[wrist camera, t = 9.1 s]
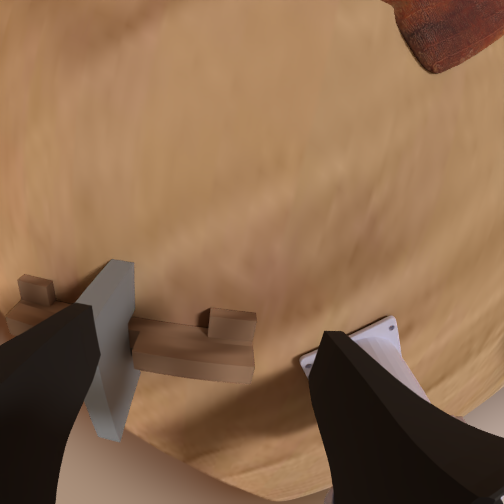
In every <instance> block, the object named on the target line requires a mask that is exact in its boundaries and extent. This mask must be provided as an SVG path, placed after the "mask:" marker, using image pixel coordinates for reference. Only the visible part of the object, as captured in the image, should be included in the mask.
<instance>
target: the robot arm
mask: <svg viewBox="0 0 504 504" xmlns="http://www.w3.org/2000/svg"><path fill="white" fill-rule="evenodd" d="M390 326H391V327H390ZM389 327H390V328H389ZM100 356H101V353H100V348H99V343H98V338H97V333H96V327H95V322H94V316H93V309H92V305H86V304H81V303H73V304H71V305H69V306H67V307H66V308H64V309H62V310H60V311H59V312H57V313H55V314H53V315H52V316H50V317H48V318H47V319H45V320H43V321H42V322H40V323H38V324H37V325H35V326H33V327H32V328H30V329H29V330H27V331H25V332H23V333H22V334H20V335H18V336H16V337H15V338H13V339H11V340H9V341H7V342H6V343H4V344H2V345H1V346H0V504H55V502H56V491H57V484H58V478H59V473H60V467H61V463H62V458H63V454H64V450H65V446H66V443H67V439H68V437H69V434H70V431H71V429H72V427H73V424H74V422H75V420H76V417H77V415H78V413H79V411H80V408H81V406H82V404H83V402H84V399H85V397H86V395H87V393H88V390H89V388H90V386H91V384H92V382H93V379H94V376H95V373H96V370H97V366H98V363H99V360H100ZM299 361H300V365H301V367H302V368H303V370H304V372H305V374H306V376H307V378H308V380H309V388H310V395H311V401H312V406H313V410H314V413H315V417H316V420H317V424H318V427H319V430H320V434H321V437H322V441H323V444H324V448H325V451H326V454H327V458H328V462H329V466H330V471H331V477H332V484H333V486H332V487H331V488H330V489H329V490H328V492H327V494H326V497H325V501H324V504H503V502H502V498H503V496H504V438H502V437H499V436H496V435H493V434H490V433H488V432H485V431H482V430H480V429H477V428H475V427H473V426H470V425H468V424H467V423H466V421H465V420H464V418H463V417H462V416H456V417H455V416H454V415H449V414H447V413H445V412H443V411H442V410H440V409H438V408H437V407H435V406H434V405H432V404H431V402H430V401H429V399H428V397H427V396H426V394H425V392H424V391H423V389H422V388H421V386H420V384H419V383H418V381H417V380H416V378H415V376H414V375H413V373H412V372H411V370H410V369H409V367H408V366H407V364H406V362H405V361H404V359H403V358H402V355H401V348H400V342H399V335H398V329H397V323H396V319H395V318H394V317H393V316H388V317H386V318H384V319H382V320H380V321H378V322H376V323H374V324H372V325H370V326H368V327H366V328H364V329H362V330H360V331H357V332H355V333H353V334H351V335H349V336H347V335H346V334H345V333H344V332H342V331H324V334H323V336H322V339H321V342H320V345H319V348H318V349H317V350H315V351H313V352H310V353H308V354H305V355H303V356H301V358H300V359H299ZM307 364H309V365H307Z"/></svg>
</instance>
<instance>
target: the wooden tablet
mask: <svg viewBox="0 0 504 504" xmlns="http://www.w3.org/2000/svg"><path fill="white" fill-rule="evenodd" d="M382 1H384V2H386V3H388V4H390V5H392V7H393V8H394V14H395V19H396V23H397V24H398V27H399V29H400V31H401V33H402V35H403V37H404V39H405V40H406V42H407V43H408V45H409V47H410V48H411V50H412V51H413V53H414V55H415V56H416V58H417V59H418V60H419V62H420V63H421V64H422V66H423V67H425V68H426V69H427V70H429V71H431V72H433V73H442V72H444V71H446V70H448V69H450V68H452V67H454V66H457V65H459V64H461V63H463V62H464V61H466V60H468V59H469V58H471V57H472V56H474V55H476V54H477V53H479V52H480V51H482V50H483V49H485V48H487V47H488V46H489V45H491V44H492V43H493V42H495V41H496V40H498V39H499V38H500V37H501V36H503V35H504V0H382Z"/></svg>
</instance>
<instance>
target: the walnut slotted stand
mask: <svg viewBox="0 0 504 504" xmlns="http://www.w3.org/2000/svg"><path fill="white" fill-rule="evenodd" d="M18 286H19V290H20V295H21V300H20V301H19V302H18V303H17V304H16V305H15V306H14V307H13V308H12V309H11V310H10V312H9V313H8V314H7V315H6V316H5V319H6V322H7V325H8V328H9V331H10V334H12V335H15V336H18V335H20V334H22V333H23V332H25V331H27V330H29V329H30V328H32V327H33V326H35V325H37V324H38V323H40V322H42V321H43V320H45V319H47V318H48V317H50V316H52V315H53V314H55V313H57V312H59V311H60V310H62V309H64V308H66V307H67V306H69V305H71V304H69V303H64V302H60V301H56V299H55V293H54V287H53V281H51V280H47V279H42V278H38V277H34V276H30V275H25V274H24V275H23V276H21V277H20V278H19V279H18ZM256 323H257V318H256V313H252V312H243V311H234V310H225V309H217V308H211V311H210V320H209V328H204V327H196V326H189V325H182V324H175V323H168V322H162V321H155V320H149V319H143V318H138V317H132V316H131V318H130V320H129V322H128V332H129V342H130V347H131V348H133V350H132V356H133V365H134V369H136V370H142V371H147V372H153V373H158V374H164V375H171V376H177V377H184V378H191V379H199V380H208V381H217V382H227V383H239V384H251V381H252V377H253V373H254V369H255V362H254V352H253V337H254V333H255V328H256Z"/></svg>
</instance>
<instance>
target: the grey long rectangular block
mask: <svg viewBox="0 0 504 504" xmlns="http://www.w3.org/2000/svg"><path fill="white" fill-rule="evenodd" d="M75 303H81V304H86V305H92V309H93V316H94V322H95V327H96V333H97V338H98V343H99V348H100V353H101V356H100V360H99V363H98V366H97V370H96V373H95V376H94V379H93V382H92V384H91V386H90V388H89V390H88V393H87V395H86V397H85V399H84V402H85V404H86V407H87V410H88V412H89V415H90V417H91V420H92V422H93V425H94V427H95V430H96V432H97V435H98V436H99V437H102V438H105V439H109V440H113V441H117V442H120V441H121V437H122V434H123V430H124V427H125V423H126V419H127V416H128V412H129V409H130V406H131V402H132V399H133V396H134V392H135V389H136V386H137V383H138V380H139V376H140V370H136V369H134V365H133V356H132V350H133V348H131V347H130V342H129V332H128V322H129V320H130V318H131V316H132V314H133V312H134V310H135V290H134V262H127V261H120V260H114V259H111V260H110V261H109V263H108V264H107V265H106V266H105V267H104V268H103V270H102V271H101V272H100V273H99V274H98V275H97V277H96V278H95V279H94V280H93V281H92V282H91V284H90V285H89V286H88V287H87V288H86V290H85V291H84V292H83V293H82V295H81V296H80V297H79V298H78V299H77V301H76V302H75Z"/></svg>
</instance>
